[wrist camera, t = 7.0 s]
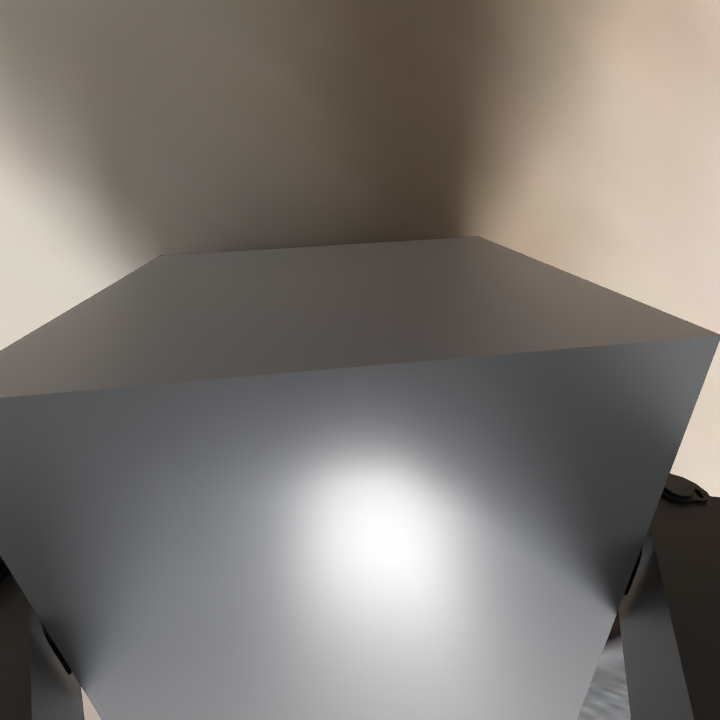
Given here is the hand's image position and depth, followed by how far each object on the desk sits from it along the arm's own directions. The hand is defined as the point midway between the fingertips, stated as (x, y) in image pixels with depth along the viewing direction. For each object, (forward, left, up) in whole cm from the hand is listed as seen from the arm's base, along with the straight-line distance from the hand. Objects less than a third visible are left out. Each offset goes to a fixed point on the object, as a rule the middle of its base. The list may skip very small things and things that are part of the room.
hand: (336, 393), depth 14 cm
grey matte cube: (0, 0, -1) cm, 1 cm away
